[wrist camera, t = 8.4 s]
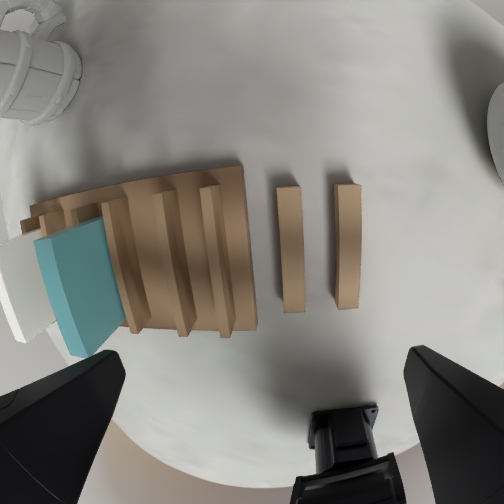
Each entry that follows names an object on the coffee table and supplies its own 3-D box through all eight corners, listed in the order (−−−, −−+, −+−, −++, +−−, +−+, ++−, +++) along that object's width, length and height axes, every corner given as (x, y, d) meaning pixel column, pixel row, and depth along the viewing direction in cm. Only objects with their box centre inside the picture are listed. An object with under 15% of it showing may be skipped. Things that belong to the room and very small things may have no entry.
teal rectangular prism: (139, 305, 20) (89, 358, 13) (122, 304, 20) (70, 354, 13) (119, 212, 18) (50, 238, 11) (102, 215, 18) (33, 241, 11)
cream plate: (78, 302, 21) (26, 343, 14) (66, 301, 21) (16, 340, 14) (58, 222, 19) (-6, 247, 12) (47, 225, 19) (-15, 248, 12)
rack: (257, 321, 20) (252, 350, 17) (65, 313, 23) (43, 331, 19) (243, 165, 17) (233, 165, 14) (38, 203, 20) (10, 211, 16)
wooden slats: (353, 298, 19) (358, 308, 18) (284, 302, 20) (284, 313, 18) (354, 183, 17) (360, 184, 15) (276, 186, 17) (276, 188, 16)
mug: (24, 130, 18) (-76, 136, 6) (50, 23, 14) (-33, -4, 3) (76, 121, 17) (-49, 116, 6) (106, 1, 14) (20, -52, 2)
